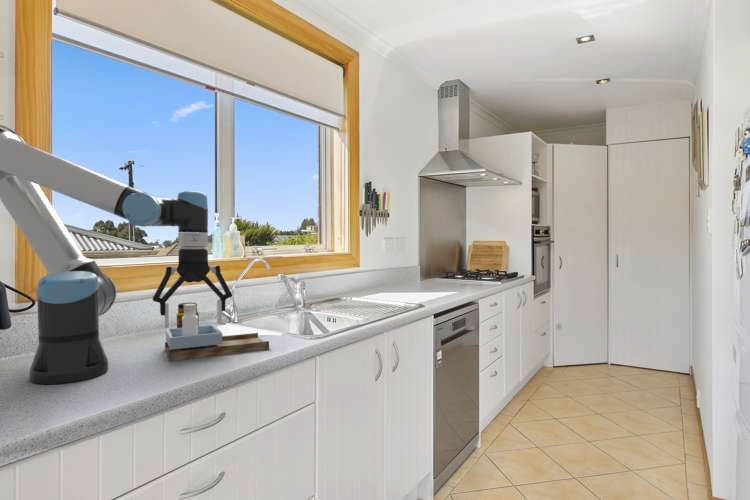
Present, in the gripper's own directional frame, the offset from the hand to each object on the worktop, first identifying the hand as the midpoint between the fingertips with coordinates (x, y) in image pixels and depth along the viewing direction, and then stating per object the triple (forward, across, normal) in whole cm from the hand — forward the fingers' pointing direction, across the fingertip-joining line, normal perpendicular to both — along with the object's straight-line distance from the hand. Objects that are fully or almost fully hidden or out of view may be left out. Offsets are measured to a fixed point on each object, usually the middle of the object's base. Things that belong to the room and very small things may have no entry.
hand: (193, 325), depth 126 cm
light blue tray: (+6, 0, 0) cm, 6 cm away
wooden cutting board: (+7, +6, 0) cm, 10 cm away
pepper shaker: (+4, -1, 0) cm, 4 cm away
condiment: (+8, 0, +13) cm, 15 cm away
